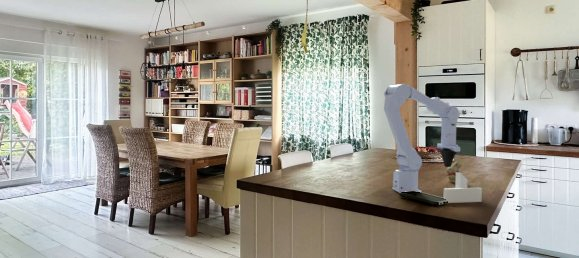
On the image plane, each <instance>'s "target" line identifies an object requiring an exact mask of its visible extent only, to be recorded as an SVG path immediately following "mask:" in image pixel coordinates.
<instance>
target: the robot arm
mask: <svg viewBox="0 0 579 258" xmlns="http://www.w3.org/2000/svg"><path fill="white" fill-rule="evenodd" d="M383 95H384V105H383V111H384V114H385V117H386V118H387V121H388V124H389V127H390V130H391V132H392V135H393V139H394V141H395V144H396V146H397V150H396V153H395V155H396V163H397V164H398V165H399V169H394V171H393V173H392V174H393V175H392V190H393V191H395V192H397V193H399V194H402V193H401V192H405V191H416V192H420V193H422V190H420V189H419V171H420V169H421V167H422V165H423V160H422V157H421V156H420V155H419V154H418V152H417V150H416V149H415V147H413V146H412V143H411V140H410V137H409V135H408V132H407V128H406V125H405V124H404V121H403V117H402V115H401V112H400V108H401V106H402V105H403V104H404V103H405V102H406V101H407V100H408V99H411V100H414V101H415V102H417V103H420V104H422V105H424V106H426V109H427V110H428V111H429V112H432V113H433V114H436V116H437V115H438V116H439V118H440V119H441V128H440V129H441V136H440V142H439V143H437V145H436V147H437V149H439V153H440V155H441V157H442V160H443V161H442V162H443V165H444V168H448V167H451V166H452V165H453V161H454V158H455V156H456V154H457V153H459V152H461V147H460V146H459V145H458V144H457V123H458V119H459V117H460V116H461V112H460V110H459V109H458V107H457V106H455V105H450V103H448V102H444V101H443V100H441V98H440V97H438V96H436V97H435V96H434V97H429V96H427V95H425V94H424V93H422V92H421V91H419V90H417V89H416V88H414V87H413V86H411V85H408V84H406V83H401V84H391V85H389V86H387V87H386V90H385V91H384V93H383Z"/></svg>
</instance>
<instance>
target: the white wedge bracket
mask: <svg viewBox="0 0 579 258" xmlns="http://www.w3.org/2000/svg"><path fill="white" fill-rule="evenodd" d="M462 174H463V173H462V172H460V171H459V172H456V182H455V183H454V184H455V185H454V186H455V187H454V188H468V179H467V177H465V175H464V174H463V175H464V176H463V175H462Z"/></svg>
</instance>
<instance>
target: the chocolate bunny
mask: <svg viewBox="0 0 579 258" xmlns="http://www.w3.org/2000/svg"><path fill="white" fill-rule="evenodd" d="M462 166H463V165H462V163H459V161H458V160H456V161H455V162H454V163H452V164H451V167H446V168H447V169H446V174H447V178H448V183H452V182H453V183H454V184H455V182H456V172H459V173H460V171H459V170H460V168H461V167H462ZM461 174H462V175H463V176H464V177H465V175H464V174H463V173H461Z"/></svg>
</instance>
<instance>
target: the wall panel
mask: <svg viewBox="0 0 579 258" xmlns="http://www.w3.org/2000/svg"><path fill="white" fill-rule="evenodd" d="M482 194H483V188H482V187H477V186H476V187H467V188H455V187H450V188H449V187H448V188H446V187H445V188H443V198H444V199H446V200H447V201H448V203H447V204H453V203H454V204H455V203H456V204H457V203H479V202H480V203H481V202H482V201H483V200H482V199H483V198H482V196H483V195H482Z"/></svg>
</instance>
